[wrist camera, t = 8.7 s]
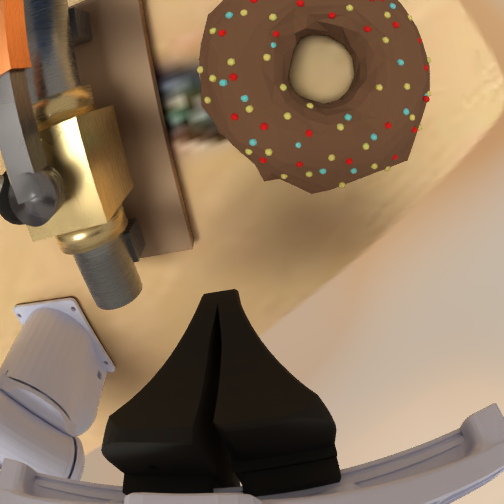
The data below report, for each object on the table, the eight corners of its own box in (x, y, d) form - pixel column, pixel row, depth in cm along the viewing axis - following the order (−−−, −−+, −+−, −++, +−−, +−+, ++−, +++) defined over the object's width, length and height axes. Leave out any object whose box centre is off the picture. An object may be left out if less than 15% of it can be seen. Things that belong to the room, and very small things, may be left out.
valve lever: (77, 203, 13) (59, 222, 11) (38, 214, 13) (18, 234, 11) (30, -21, 7) (7, -28, 5) (-9, 4, 7) (-34, 1, 5)
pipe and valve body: (162, 254, 22) (145, 315, 16) (104, 264, 22) (75, 323, 16) (100, -6, 13) (53, -32, 7) (37, 22, 13) (-23, 15, 7)
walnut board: (193, 240, 23) (192, 248, 22) (85, 260, 23) (79, 269, 22) (140, -13, 14) (135, -18, 12) (21, 37, 14) (12, 37, 13)
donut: (154, 75, 17) (133, 74, 13) (310, -57, 13) (333, -87, 8) (310, 216, 23) (330, 252, 18) (440, 97, 19) (484, 108, 14)
